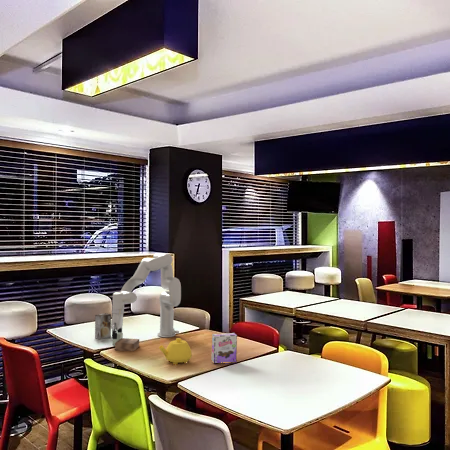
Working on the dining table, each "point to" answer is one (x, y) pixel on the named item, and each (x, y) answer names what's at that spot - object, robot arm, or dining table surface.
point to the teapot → (177, 351)
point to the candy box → (224, 347)
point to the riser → (127, 344)
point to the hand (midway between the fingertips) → (116, 337)
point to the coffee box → (102, 325)
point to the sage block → (118, 338)
